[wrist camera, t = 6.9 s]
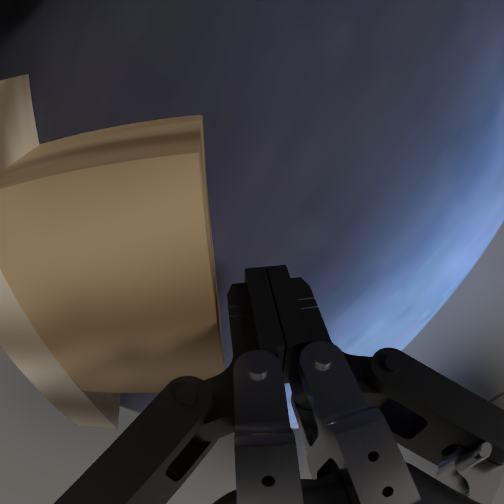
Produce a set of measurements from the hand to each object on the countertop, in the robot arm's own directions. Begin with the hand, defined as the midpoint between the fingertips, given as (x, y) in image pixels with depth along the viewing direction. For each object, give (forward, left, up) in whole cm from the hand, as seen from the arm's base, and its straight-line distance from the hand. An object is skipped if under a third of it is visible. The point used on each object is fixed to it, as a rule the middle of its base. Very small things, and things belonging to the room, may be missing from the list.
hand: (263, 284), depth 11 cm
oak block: (-1, -5, -3) cm, 6 cm away
